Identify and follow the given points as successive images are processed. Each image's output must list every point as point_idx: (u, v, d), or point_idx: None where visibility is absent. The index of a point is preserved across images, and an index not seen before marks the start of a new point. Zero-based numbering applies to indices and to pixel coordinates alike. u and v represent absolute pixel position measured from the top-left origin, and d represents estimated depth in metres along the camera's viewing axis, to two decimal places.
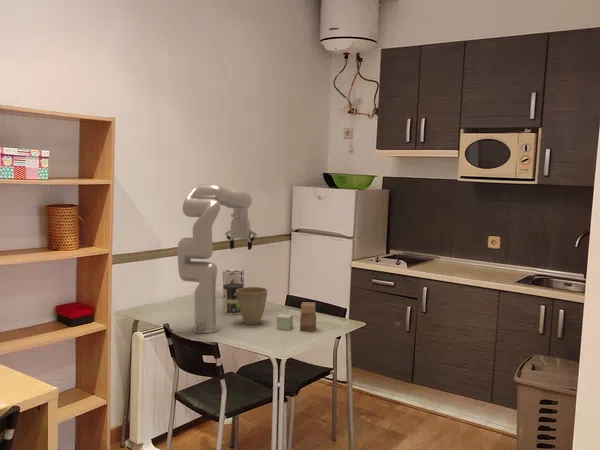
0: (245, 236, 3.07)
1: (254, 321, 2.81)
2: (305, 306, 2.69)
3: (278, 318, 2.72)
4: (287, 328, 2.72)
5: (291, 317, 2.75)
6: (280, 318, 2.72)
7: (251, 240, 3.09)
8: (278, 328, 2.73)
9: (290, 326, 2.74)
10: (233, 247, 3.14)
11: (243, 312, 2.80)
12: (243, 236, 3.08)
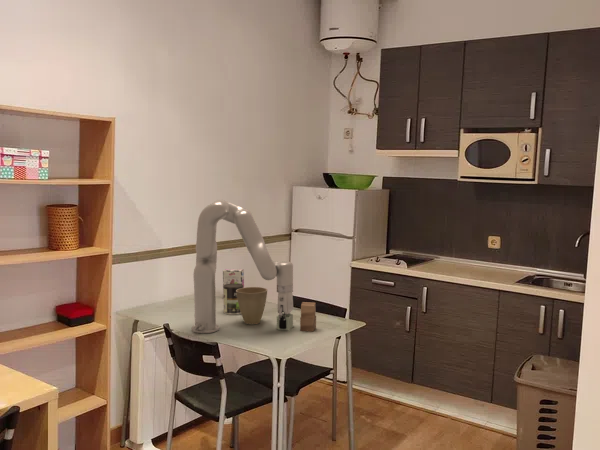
0: (292, 308, 2.77)
1: (254, 321, 2.81)
2: (305, 306, 2.69)
3: (278, 318, 2.72)
4: (287, 328, 2.72)
5: (291, 317, 2.75)
6: None
7: None
8: (278, 328, 2.73)
9: (290, 326, 2.74)
10: None
11: (243, 312, 2.80)
12: (292, 308, 2.76)
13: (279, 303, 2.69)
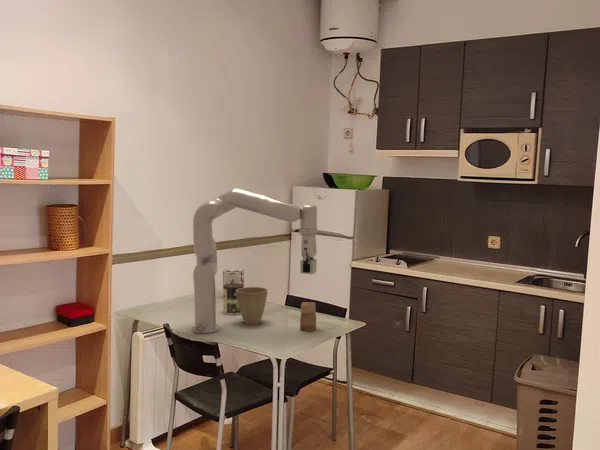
0: (316, 252, 2.72)
1: (254, 321, 2.81)
2: (305, 306, 2.69)
3: (302, 262, 2.68)
4: (311, 272, 2.67)
5: (315, 261, 2.70)
6: None
7: None
8: (302, 272, 2.68)
9: (314, 270, 2.69)
10: None
11: (243, 312, 2.80)
12: (315, 253, 2.71)
13: (303, 246, 2.65)
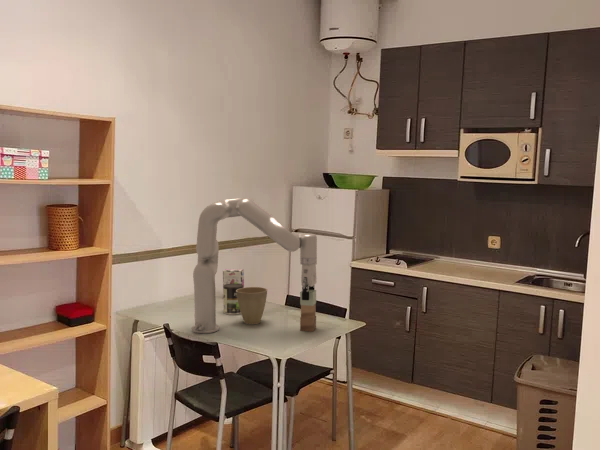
0: (316, 281, 2.74)
1: (254, 321, 2.81)
2: (305, 306, 2.69)
3: None
4: (311, 303, 2.68)
5: (315, 292, 2.71)
6: None
7: (313, 284, 2.77)
8: (302, 303, 2.70)
9: (314, 301, 2.70)
10: None
11: (243, 312, 2.80)
12: (315, 281, 2.73)
13: (303, 275, 2.66)
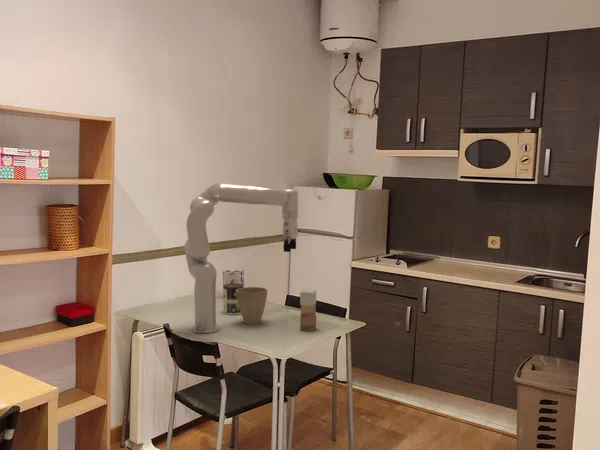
0: (297, 234, 2.89)
1: (254, 321, 2.81)
2: (305, 306, 2.69)
3: (302, 293, 2.69)
4: (311, 303, 2.68)
5: (315, 292, 2.71)
6: (304, 293, 2.69)
7: None
8: (302, 303, 2.70)
9: (314, 301, 2.70)
10: None
11: (243, 312, 2.80)
12: (296, 235, 2.88)
13: (284, 228, 2.81)
